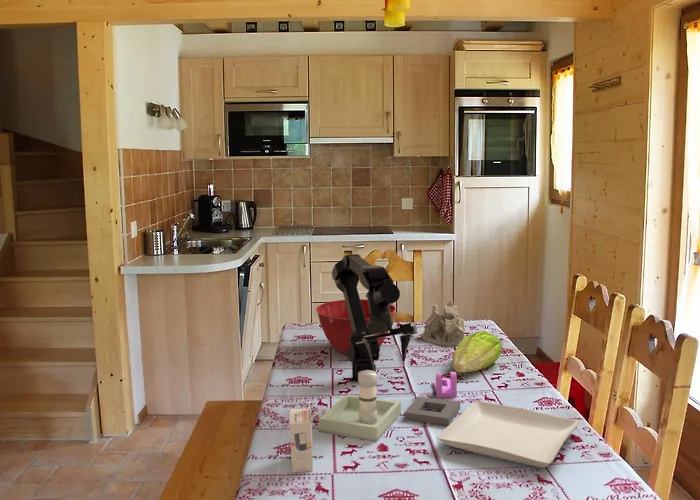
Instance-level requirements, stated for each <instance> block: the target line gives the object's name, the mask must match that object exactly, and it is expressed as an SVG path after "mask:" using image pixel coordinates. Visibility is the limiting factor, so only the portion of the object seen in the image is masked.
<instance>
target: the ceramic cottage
mask: <svg viewBox="0 0 700 500" xmlns="http://www.w3.org/2000/svg"><path fill="white" fill-rule="evenodd" d="M442 313H443V314H442V315H441V314H439V308H438V305H437V304H433V305H432V311H431V313H430V314H431V315H430V316H429V317H428V318H427V320H425V322H423V324H424V325H425V326H424V331H423V332H422V338H421V339H422V340H424V341H425V342H428V343H432V344H435V345H441V346H444V347H455V346H456V347H458V345H459V344H460V343H461V341H462V340H463V339H464V338H465V337H467V335H466V334H465V331H466V327H465V320H464V318H460V317H459V310H458V306H457V305H454V302H453V299H452V298H450V299H449V301H448V302H447V305H444V306H443V312H442Z"/></svg>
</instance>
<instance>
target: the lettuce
mask: <svg viewBox="0 0 700 500" xmlns="http://www.w3.org/2000/svg"><path fill="white" fill-rule="evenodd" d="M502 351H503V345H502V343H501V340H500V338H499V337H498V336H496V335H494V334H492V333H490V332H488V331H485V330H483V331H476V332H475V333H471V334H468V335H466V337H465V338H464V339H463V340H462V341H461V343H460V344H459V345H458V346H456V348H455V349H454V351H453V354H452V367H453V368H454V370H455V372H458V373H471V372H476V371H479V370H484V369H487V368H488V367H490V366H492V365H493V364H494V363H495V362H496V361H497V360H498V359H499V358H500V356H501V355H502Z"/></svg>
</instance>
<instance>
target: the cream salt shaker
mask: <svg viewBox="0 0 700 500" xmlns="http://www.w3.org/2000/svg"><path fill="white" fill-rule="evenodd" d="M377 374H378V373H377V371H376V372H375V371H372V370H363V371H360V372H358V382H357V385H358V392H359V393H358V396H359V407H360V409H359V422H360V423H362V424H369V425H370V424H374V423H376V422H377V409H376V399H377V384H378V382H377V381H378V380H377V379H378V378H377V377H378V376H377Z"/></svg>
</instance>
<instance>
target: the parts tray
mask: <svg viewBox="0 0 700 500" xmlns="http://www.w3.org/2000/svg"><path fill="white" fill-rule="evenodd" d="M359 409H360V407H359V395H353V394H346V395H344V396H343V397H342V398H340V400H338V401H337V402H336V403H335V404H333V406H331V407H330V408H329V409H327V411H325V412H324V413H323V414H322V415H321V416H320V417H319V418H318V432H319V433H324V434H331V435H337V436H342V437H348V438H355V439H361V440H367V441H373V442H378V441H379V440H380V439H381V438H382V436H384V434H385V433H386V432H387V431H388V430H389V429H390V428H391V426H392V425H393V424H394V423H395V421H397V419H398V418H399V417H400V416H401V415H402V402H401V401H398V400H391V399H384V398H383V399H382V398H376V409H377V422H376V423H374V424H370V425H369V424H362V423H360V422H359Z"/></svg>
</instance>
